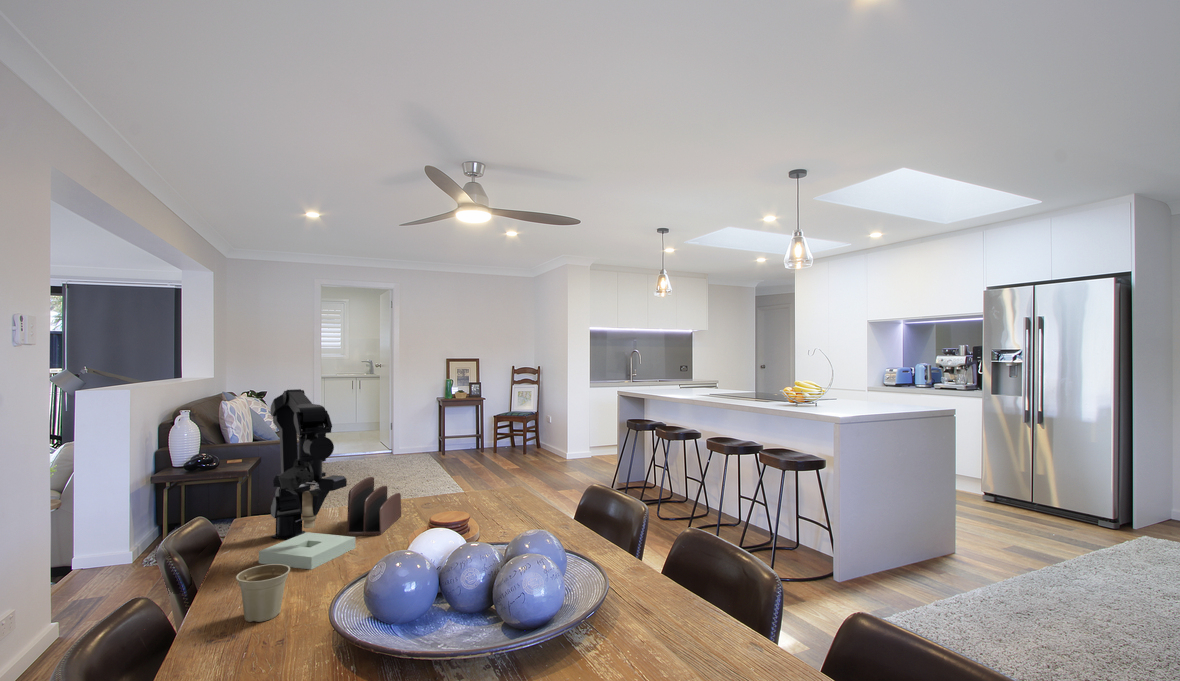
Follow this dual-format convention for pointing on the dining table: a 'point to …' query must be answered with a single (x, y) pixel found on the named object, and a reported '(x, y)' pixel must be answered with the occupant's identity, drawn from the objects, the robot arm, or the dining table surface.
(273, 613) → the flower pot
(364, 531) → the letter holder
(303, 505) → the peg
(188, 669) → the dining table surface
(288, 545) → the board
